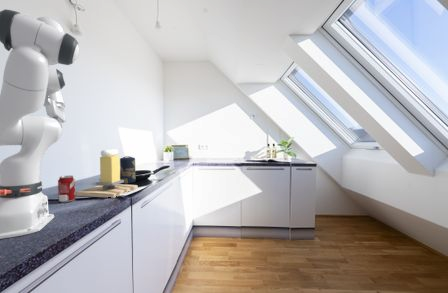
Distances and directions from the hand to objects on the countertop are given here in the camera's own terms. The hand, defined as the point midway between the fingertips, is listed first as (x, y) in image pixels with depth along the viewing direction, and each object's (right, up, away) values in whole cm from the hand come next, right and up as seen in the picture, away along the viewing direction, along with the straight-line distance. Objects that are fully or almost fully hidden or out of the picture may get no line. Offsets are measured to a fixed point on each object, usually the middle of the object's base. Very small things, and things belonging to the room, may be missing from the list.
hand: (59, 128), depth 117 cm
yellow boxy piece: (+17, -30, +15) cm, 38 cm away
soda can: (+6, -36, -4) cm, 36 cm away
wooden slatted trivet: (+17, -35, +15) cm, 42 cm away
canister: (+18, -34, +41) cm, 56 cm away
